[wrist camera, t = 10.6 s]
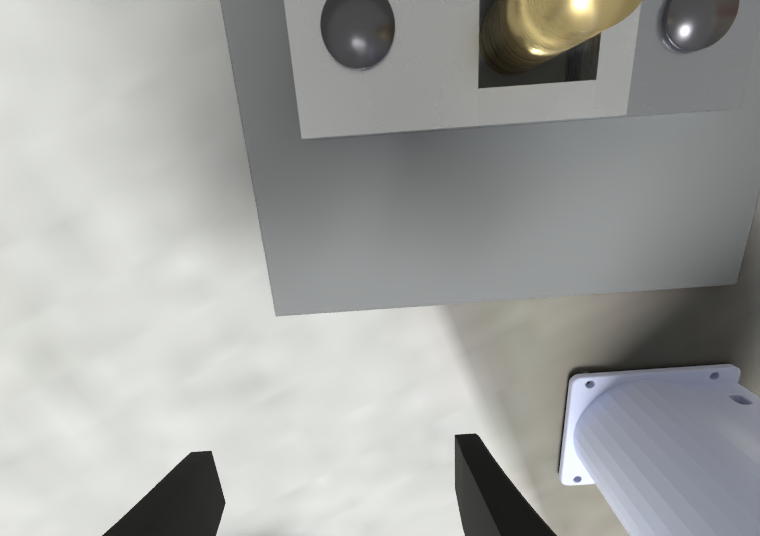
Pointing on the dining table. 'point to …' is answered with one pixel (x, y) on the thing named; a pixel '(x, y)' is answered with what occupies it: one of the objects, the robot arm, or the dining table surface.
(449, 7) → the latch strike plate
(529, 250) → the mat
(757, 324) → the dining table surface
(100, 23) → the dining table surface
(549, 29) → the pin
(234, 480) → the dining table surface
